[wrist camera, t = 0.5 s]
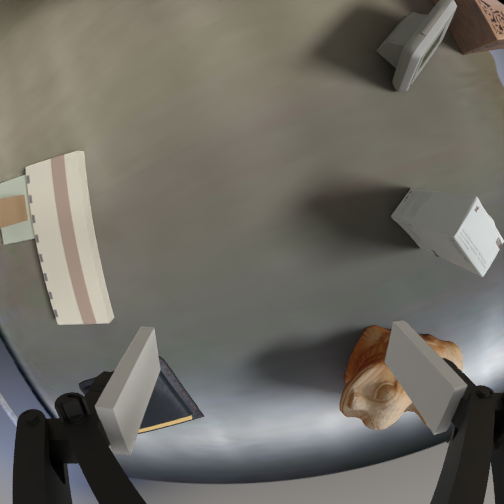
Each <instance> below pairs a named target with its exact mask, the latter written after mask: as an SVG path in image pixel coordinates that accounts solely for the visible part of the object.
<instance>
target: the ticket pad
mask: <svg viewBox="0 0 504 504" xmlns="http://www.w3.org/2000/svg"><path fill="white" fill-rule="evenodd" d="M25 168H26V178H27V188H28V196H29V203H30V210H31V217H32V223H33V228H34V234H35V239H36V244H37V249H38V253H39V258H40V262H41V267H42V271H43V275H44V279H45V282H46V286H47V290H48V293H49V297H50V300H51V304H52V307H53V310H54V314H55V317H56V320H57V323H58V325H63V324H98V323H110V322H111V321H112V319H113V318H114V315H113V311H112V307H111V304H110V300H109V296H108V292H107V288H106V284H105V280H104V275H103V271H102V266H101V262H100V257H99V252H98V247H97V242H96V236H95V231H94V225H93V219H92V213H91V207H90V200H89V192H88V185H87V176H86V167H85V157H84V151H75V152H71V153H68V154H64V155H61V156H57V157H54V158H51V159H48V160H45V161H42V162H39V163H36V164H33V165H30V166H27V167H25Z"/></svg>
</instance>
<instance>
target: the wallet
mask: <svg viewBox="0 0 504 504" xmlns="http://www.w3.org/2000/svg"><path fill="white" fill-rule="evenodd" d="M158 357H159V363H160V369H161V370H160V373H159V375H158V378H157V381H156V383H155V386H154V389H153V392H152V394H151V397H150V400H149V403H148V405H147V408H146V411H145V414H144V417H143V419H142V422H141V425H140V428H139V431H138V434H140V433H145V432H149V431H153V430H157V429H161V428H165V427H169V426H173V425H176V424H180V423H184V422H187V421H191V420H194V419H197V418H201V417H204V415H203V414H202V412H201V411H200V410H199V408H198V407H197V405H196V404H195V402H194V401H193V400H192V398H191V397H190V395H189V394H188V393H187V391H186V390H185V389H184V387H183V386H182V384H181V383H180V382H179V380H178V379H177V377H176V376H175V374H174V373H173V372H172V370H171V369H170V367H169V366H168V364H167V363H166V362H165V360H164V359H163V358H161V357H160V356H159V355H158ZM113 372H114V371H113ZM95 379H96V377H95V378H92V379H89V380H85V381H83V382H81V383H79V386H80V389H81V390H82V392H83V393H84V394H85V395H86V393H87V391H89V388H90V387H91V385H92V383H93V382H94V380H95Z"/></svg>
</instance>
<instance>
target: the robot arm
mask: <svg viewBox="0 0 504 504" xmlns="http://www.w3.org/2000/svg"><path fill="white" fill-rule="evenodd" d="M384 362H385V363H386V365H387V366H388V368H389V369H390V371H391V372H392V373H393V375H394V376H395V378H396V379H397V381H398V382H399V384H400V385H401V386H402V388H403V389H404V391H405V392H406V394H407V395H408V397H409V398H410V400H411V401H412V402H413V404H414V405H415V407H416V408H417V410H418V411H419V413H420V414H421V416H422V417H423V419H424V420H425V422H426V423H427V425H428V426H429V428H430V429H431V431H432V432H433V434H434V435H435V434H438V433H441V432H444V431H447V429H448V427H449V425H450V423H451V421H452V423H453V424H454V425H455V427H454V429H453V431H452V433H451V435H450V437H449V439H448V440H447V443H448V442H449V441H450V443H449V447H448V451H447V454H446V458H445V461H444V465H443V468H442V471H441V474H440V478H439V481H438V484H437V487H436V490H435V492H434V495H433V498H432V501H431V503H430V504H483V502H484V498H485V492H486V487H487V482H488V475H489V469H490V462H491V466H492V474H493V482H494V493H495V504H504V393H494V392H493V390H492V389H490V388H489V387H486V386H481V385H479V386H476V385H475V384H474V383H473V382H472V381H471V380H470V379H469V378H468V377H467V376H466V375H465V374H464V373H462V371H461V370H460V369H458V367H457V366H456V365H455V364H454V363H453V362H452V361H450V360H448V359H446V358H441V357H440V356H439V355H438V354H437V353H436V352H435V351H434V350H433V349H432V348H431V347H430V346H429V345H428V343H427V342H426V341H425V340H424V339H423V338H422V337H421V336H420V335H419V334H418V333H417V332H416V331H415V330H414V329H412V328H411V327H410V326H409V325H408V324H407V323H406V322H405V321H394V322H393V325H392V330H391V335H390V339H389V344H388V349H387V353H386V357H385V361H384ZM160 370H161V369H160V363H159V357H158V350H157V343H156V337H155V329H154V327H140V329H139V330H138V332H137V334H136V335H135V337H134V339H133V340H132V342H131V344H130V345H129V347H128V349H127V350H126V352H125V354H124V356H123V357H122V359H121V361H120V362H119V364H118V366H117V368H116V369H115V371H114V372H105V371H104V372H103V373H101V374H100V375H99V376H97V377H96V379H95V380H94V382H93V383H92V385H91V387H90V388H89V391H87V393H86V395H85V396H84V397H83V395H81V394H79V393H73V392H71V393H66V394H63V395H61V396H60V397H58V398H57V399H56V401H55V409H56V411H57V413H58V415H59V418H57V419H46V418H45V415H44V414H43V413H42V412H41V411H39V410H36V409H31V410H27V411H25V412H23V413H22V414H21V415H20V416H19V418H18V421H17V431H16V439H15V450H14V464H13V465H14V466H13V504H72V498H71V492H70V485H69V477H68V468H67V463H79V465H80V467H81V469H82V471H83V474H84V476H85V478H86V479H87V482H88V484H89V485H90V487H91V489H92V491H93V493H94V495H95V497H96V499H97V500H98V502H99V504H146V503H145V501H144V500H143V498H142V497H141V496H140V494H139V493H138V491H137V490H136V489H135V487H134V486H133V484H132V483H131V481H130V480H129V478H128V477H127V475H126V474H125V472H124V471H123V469H122V468H121V466H120V464H119V463H118V461H117V460H116V458H115V456H114V455H113V453H118V454H123V455H129V456H130V454H131V452H132V449H133V446H134V443H135V440H136V437H137V434H138V431H139V428H140V425H141V422H142V419H143V417H144V414H145V411H146V408H147V405H148V403H149V400H150V397H151V394H152V392H153V389H154V386H155V383H156V381H157V378H158V375H159V373H160ZM109 445H110V446H111V449H112V451H113V453H112V451H111V450H110V448H109Z"/></svg>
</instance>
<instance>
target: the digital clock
mask: <svg viewBox="0 0 504 504" xmlns="http://www.w3.org/2000/svg"><path fill="white" fill-rule="evenodd" d="M456 8H457V5H456V3H455V1H454V0H439V1H438V3H437V4H436V5H435V6H434V8H433V9H432V10H431V11H430V13H429V14H428V15H424V14H419V13H417V12H412V13H410V14H409V15H408V16H406V17H405V18H404V19H403V20H402V21H401V22H400V23H399V24H398V25H397V26H396V27H395V29H394V30H393V31H392V32H391V33H390V35H389V36H388V37H387V38H386V39H385V41H384V42H383V43H382V44H381V45H380V47H379V48H378V49H377V52H378V53H379V54H380V55H381V56H382V57H384V58H385V59H386V60H387V61H388V62H389V63H390V64H391V65H393V66H394V67H395V68H396V71H395V74H394V77H393V80H392V83H393V86H394V88H395V89H396V90H397V91H398V92H406V91H407V90H408V89H409V87H410V86H411V84H412V83H413V82H414V80H415V79H416V77H417V76H418V75H419V73H420V72H421V70H422V69H423V67H424V66H425V65H426V63H427V62H428V60H429V59H430V57H431V56H432V55H433V53H434V52H435V50H436V49H437V47H438V46H439V44H440V43H441V41H442V40H443V38H444V35H445V33H446V31H447V29H448V27H449V24H450V22H451V20H452V18H453V15H454V13H455V11H456Z"/></svg>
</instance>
